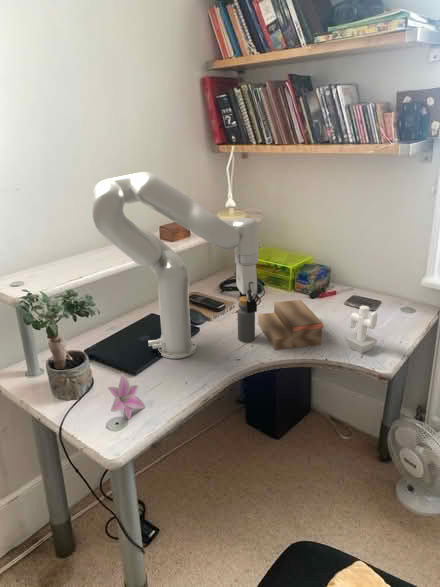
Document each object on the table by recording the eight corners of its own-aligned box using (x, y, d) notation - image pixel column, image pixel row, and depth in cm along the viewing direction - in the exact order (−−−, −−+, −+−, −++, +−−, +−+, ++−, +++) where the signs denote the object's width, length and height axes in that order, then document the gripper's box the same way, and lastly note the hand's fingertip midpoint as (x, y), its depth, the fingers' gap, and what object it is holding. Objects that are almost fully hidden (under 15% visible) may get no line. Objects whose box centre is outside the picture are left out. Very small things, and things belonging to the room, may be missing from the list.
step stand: (275, 351, 148) (275, 328, 145) (258, 324, 167) (258, 304, 164) (321, 345, 151) (323, 323, 148) (299, 319, 170) (300, 299, 167)
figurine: (356, 340, 154) (360, 299, 148) (379, 351, 146) (384, 308, 141) (341, 346, 150) (344, 304, 144) (364, 358, 143) (368, 314, 137)
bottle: (235, 340, 156) (234, 300, 150) (242, 333, 161) (241, 294, 155) (250, 344, 153) (250, 303, 148) (257, 336, 158) (257, 296, 152)
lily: (106, 430, 115) (118, 407, 111) (91, 397, 121) (102, 374, 117) (143, 424, 123) (156, 402, 119) (127, 393, 129) (139, 371, 125)
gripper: (229, 251, 153) (231, 298, 160) (241, 267, 138) (243, 318, 144) (250, 248, 155) (252, 295, 161) (265, 264, 139) (266, 315, 145)
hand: (248, 306), depth 153 cm, fingers open, 9 cm apart
